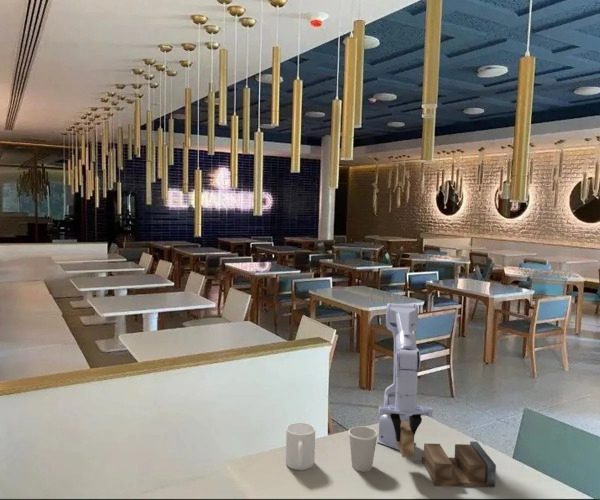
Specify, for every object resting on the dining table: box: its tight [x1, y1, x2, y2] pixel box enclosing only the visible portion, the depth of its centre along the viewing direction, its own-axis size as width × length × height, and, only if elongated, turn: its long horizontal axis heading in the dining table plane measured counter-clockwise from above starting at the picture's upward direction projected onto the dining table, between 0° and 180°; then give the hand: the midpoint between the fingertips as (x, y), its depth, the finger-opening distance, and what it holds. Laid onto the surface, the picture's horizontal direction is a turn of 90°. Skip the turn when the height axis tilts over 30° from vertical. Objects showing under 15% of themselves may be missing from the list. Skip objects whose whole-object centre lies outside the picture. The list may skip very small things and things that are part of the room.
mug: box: [285, 422, 316, 471], centre depth 141 cm, size 12×8×10 cm
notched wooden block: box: [421, 440, 497, 488], centre depth 140 cm, size 16×14×6 cm
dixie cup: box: [347, 425, 379, 473], centre depth 142 cm, size 8×8×10 cm
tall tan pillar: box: [395, 421, 415, 458], centre depth 140 cm, size 3×10×6 cm, turn 0°
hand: (404, 440), depth 140 cm, fingers closed on tall tan pillar, 3 cm apart
